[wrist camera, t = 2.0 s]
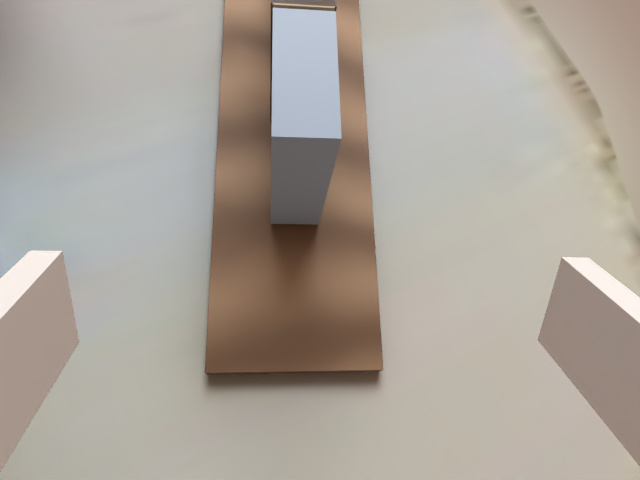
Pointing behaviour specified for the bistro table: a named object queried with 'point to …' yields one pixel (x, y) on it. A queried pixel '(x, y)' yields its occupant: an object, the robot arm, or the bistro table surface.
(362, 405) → the bistro table surface
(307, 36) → the pale blue rectangular block
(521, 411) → the bistro table surface
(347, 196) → the l-shaped wooden stand
